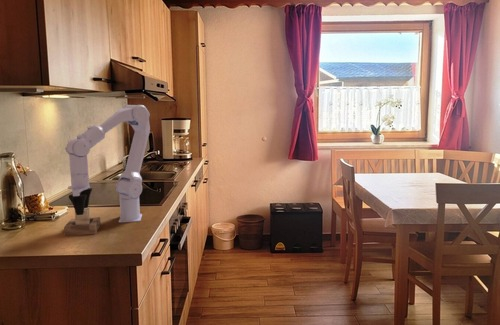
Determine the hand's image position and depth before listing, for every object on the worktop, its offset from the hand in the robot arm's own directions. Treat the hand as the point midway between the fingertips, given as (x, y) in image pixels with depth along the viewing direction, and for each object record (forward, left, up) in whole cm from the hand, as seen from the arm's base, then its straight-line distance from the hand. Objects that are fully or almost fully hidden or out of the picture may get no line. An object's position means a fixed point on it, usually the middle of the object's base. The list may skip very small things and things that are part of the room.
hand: (82, 211), depth 145 cm
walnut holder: (0, 0, -7) cm, 7 cm away
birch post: (0, 0, -6) cm, 6 cm away
